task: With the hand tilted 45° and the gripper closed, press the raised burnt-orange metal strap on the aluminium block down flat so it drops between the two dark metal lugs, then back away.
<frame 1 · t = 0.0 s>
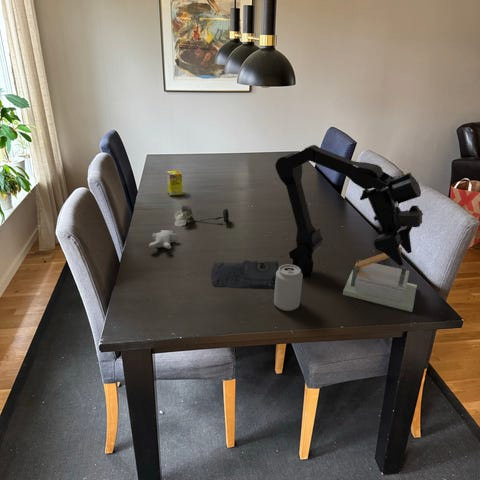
hand: (405, 258, 121), 15 cm above the table, tool tilted 35°, fingers open, 9 cm apart
bunny figurine: (164, 246, 157), on the table
artificial flower: (201, 224, 176), on the table
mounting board: (379, 291, 133), on the table
strap: (377, 258, 129), point 11 cm above the table, hinge at 35.0°
can: (286, 305, 125), on the table
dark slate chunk: (245, 278, 139), on the table
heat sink: (379, 277, 131), on the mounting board, point 5 cm above the table
supplement box: (175, 194, 207), on the table
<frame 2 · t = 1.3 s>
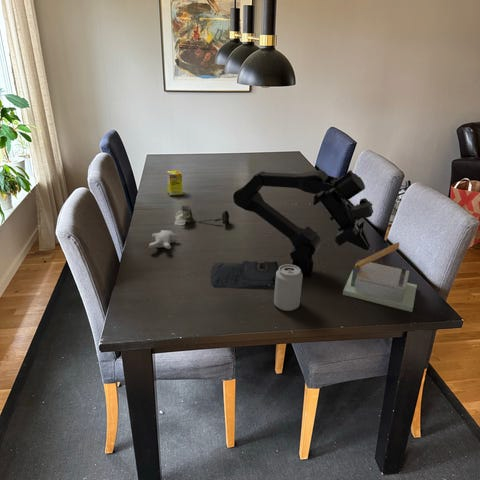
hand: (368, 248, 129), 14 cm above the table, tool tilted 45°, fingers closed
strap: (376, 256, 129), point 12 cm above the table, hinge at 41.9°
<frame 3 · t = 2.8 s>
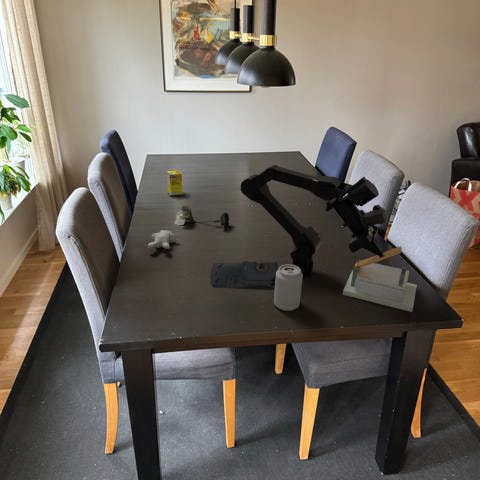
hand: (381, 255, 128), 12 cm above the table, tool tilted 45°, fingers closed, pressing on strap
strap: (377, 258, 129), point 11 cm above the table, hinge at 35.8°, touching gripper
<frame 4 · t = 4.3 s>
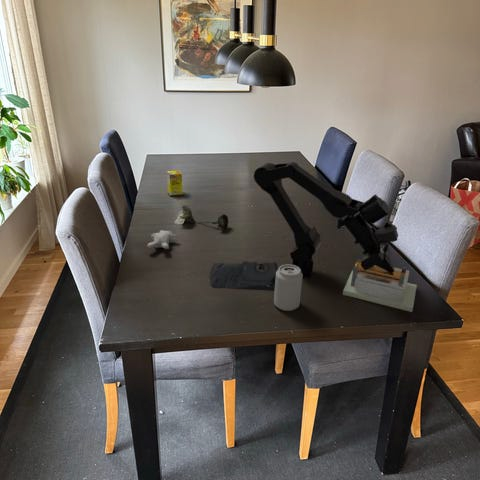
hand: (393, 271, 129), 8 cm above the table, tool tilted 45°, fingers closed, pressing on strap
strap: (379, 270, 130), point 7 cm above the table, hinge at -0.5°, touching gripper
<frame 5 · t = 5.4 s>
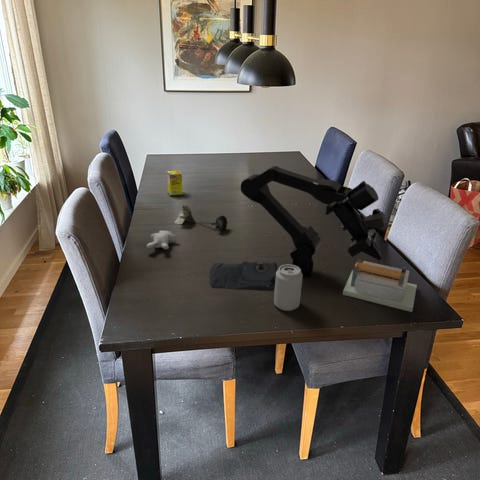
hand: (380, 259, 129), 11 cm above the table, tool tilted 45°, fingers closed
strap: (379, 270, 130), point 7 cm above the table, hinge at -0.5°
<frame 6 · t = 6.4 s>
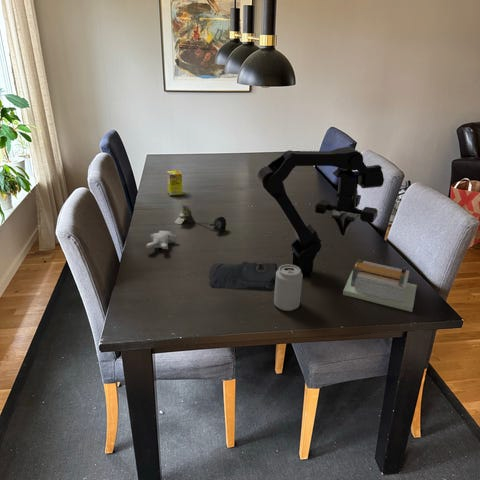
hand: (343, 234, 139), 13 cm above the table, tool pointing down, fingers closed
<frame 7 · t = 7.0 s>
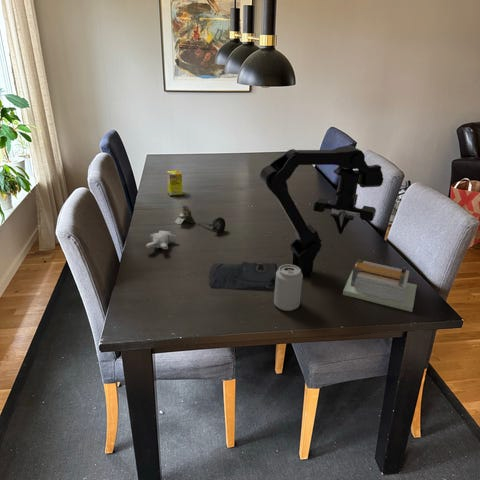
hand: (340, 233, 140), 13 cm above the table, tool pointing down, fingers closed
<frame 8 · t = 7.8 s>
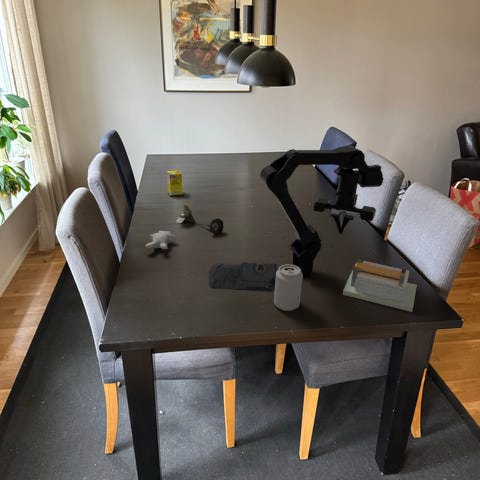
hand: (340, 233, 140), 13 cm above the table, tool pointing down, fingers closed
at the end: strap at +0° (first picture: +35°); can moved 0.2 cm from its start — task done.
